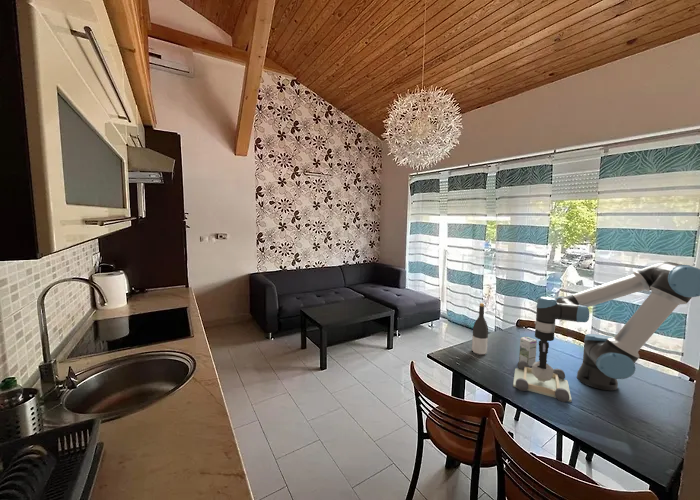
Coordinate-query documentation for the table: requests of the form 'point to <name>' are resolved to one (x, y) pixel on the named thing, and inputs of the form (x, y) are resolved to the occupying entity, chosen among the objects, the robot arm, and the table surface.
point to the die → (542, 371)
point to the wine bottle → (480, 333)
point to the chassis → (542, 383)
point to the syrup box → (527, 350)
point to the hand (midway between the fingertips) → (541, 377)
